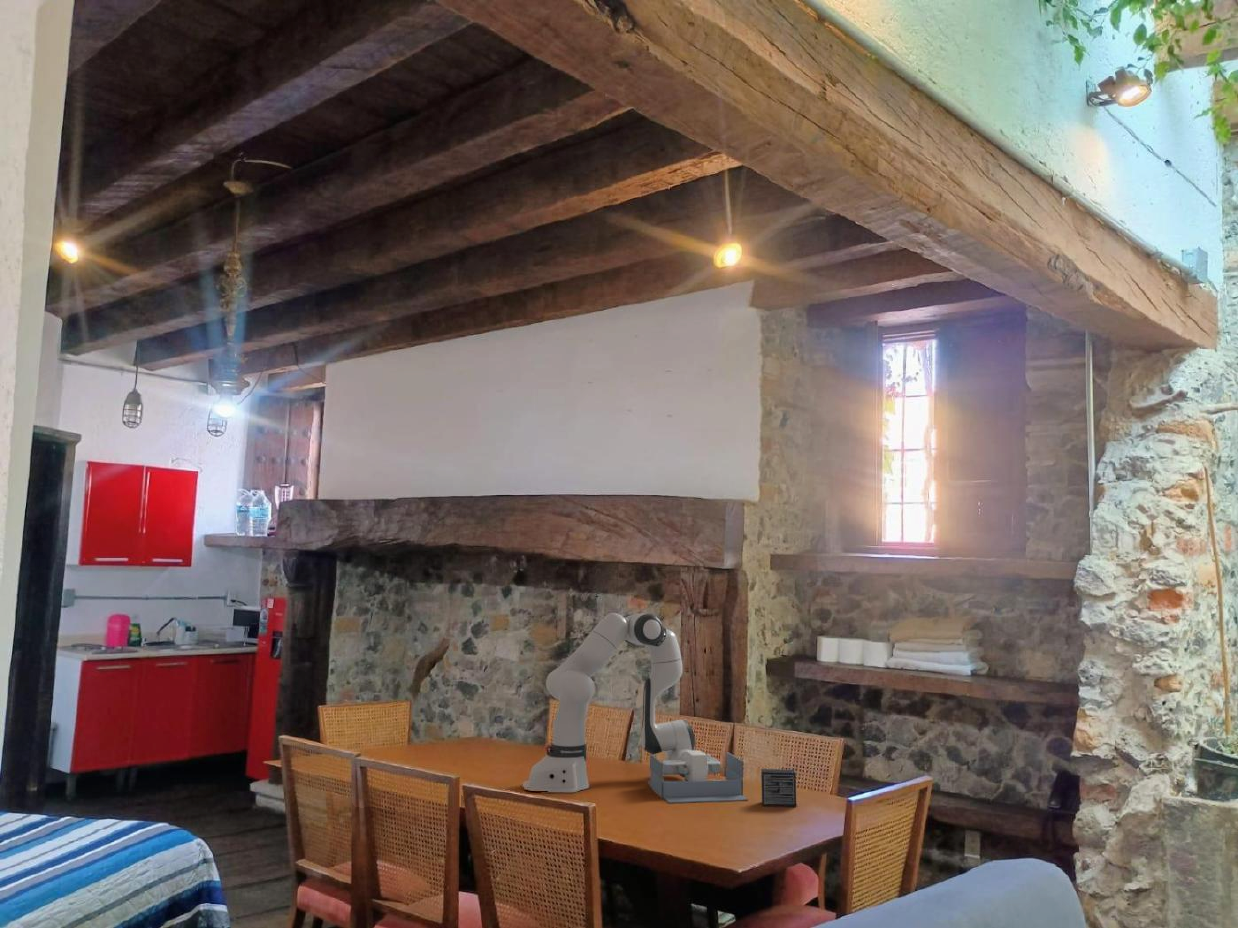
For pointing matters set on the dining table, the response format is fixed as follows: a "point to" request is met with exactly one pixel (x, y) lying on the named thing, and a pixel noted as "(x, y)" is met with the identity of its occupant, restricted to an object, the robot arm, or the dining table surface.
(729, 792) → the blue-grey open walled piece
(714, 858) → the dining table surface
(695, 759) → the box
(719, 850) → the dining table surface
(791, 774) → the small box
